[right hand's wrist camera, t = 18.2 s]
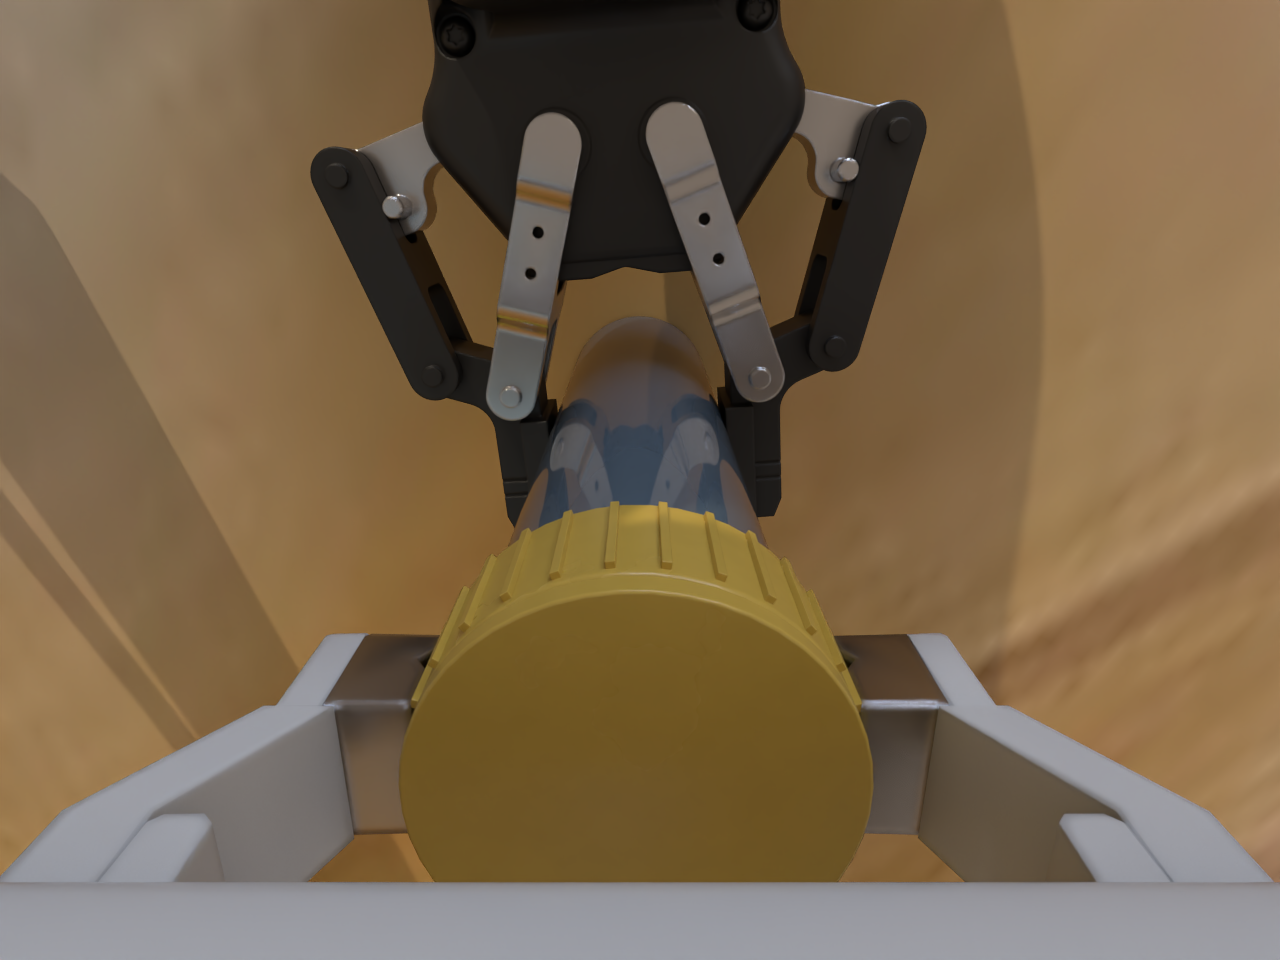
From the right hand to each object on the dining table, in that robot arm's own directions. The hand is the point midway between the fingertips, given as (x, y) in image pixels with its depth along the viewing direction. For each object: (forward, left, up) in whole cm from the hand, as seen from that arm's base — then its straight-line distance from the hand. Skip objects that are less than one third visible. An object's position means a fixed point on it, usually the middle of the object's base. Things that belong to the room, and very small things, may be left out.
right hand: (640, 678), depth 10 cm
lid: (0, 0, +2) cm, 2 cm away
